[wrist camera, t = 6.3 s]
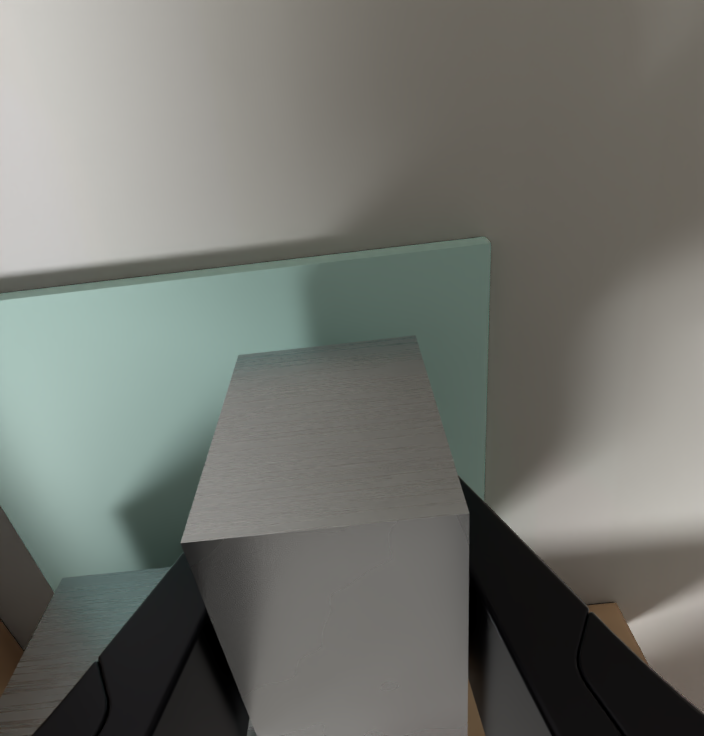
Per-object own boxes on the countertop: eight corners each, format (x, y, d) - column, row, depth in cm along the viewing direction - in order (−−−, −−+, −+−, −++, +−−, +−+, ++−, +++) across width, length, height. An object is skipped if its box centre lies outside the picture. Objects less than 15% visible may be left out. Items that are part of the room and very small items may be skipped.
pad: (90, 627, 15) (84, 641, 15) (-103, 304, 10) (-119, 314, 10) (478, 588, 15) (481, 601, 14) (485, 236, 10) (491, 243, 9)
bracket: (431, 625, 13) (466, 832, 9) (109, 656, 13) (29, 869, 10) (415, 335, 9) (469, 513, 5) (-51, 387, 9) (-285, 590, 6)
